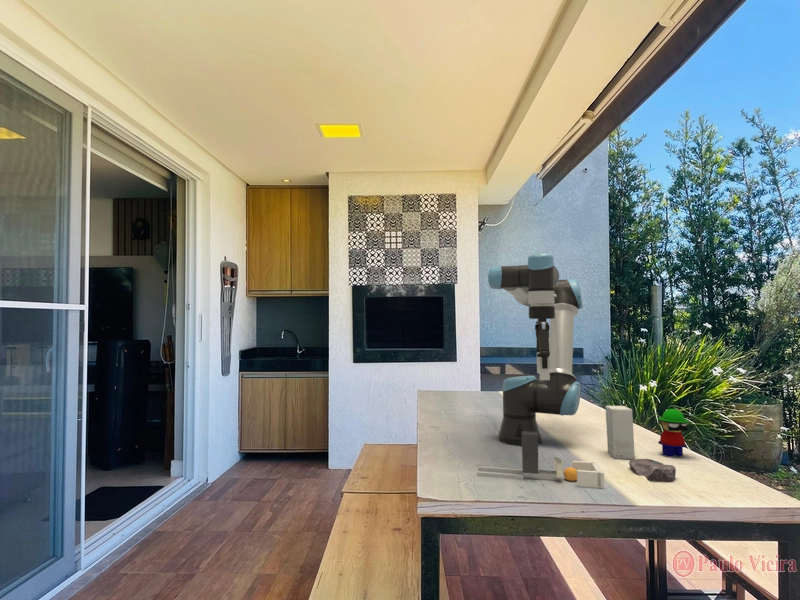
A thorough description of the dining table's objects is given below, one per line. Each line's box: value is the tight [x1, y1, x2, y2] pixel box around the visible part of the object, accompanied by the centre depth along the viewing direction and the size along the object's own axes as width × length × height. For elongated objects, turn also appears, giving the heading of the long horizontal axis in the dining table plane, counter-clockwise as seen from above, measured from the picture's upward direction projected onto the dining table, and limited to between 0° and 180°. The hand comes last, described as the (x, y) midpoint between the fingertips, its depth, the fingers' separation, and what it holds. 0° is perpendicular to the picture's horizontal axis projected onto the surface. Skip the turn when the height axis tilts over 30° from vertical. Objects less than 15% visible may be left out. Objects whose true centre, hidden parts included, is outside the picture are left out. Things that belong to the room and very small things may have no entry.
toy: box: [657, 408, 691, 458], centre depth 147 cm, size 9×9×15 cm
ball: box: [563, 466, 577, 482], centre depth 120 cm, size 4×4×4 cm
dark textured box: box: [521, 431, 564, 482], centre depth 122 cm, size 10×6×12 cm, turn 77°
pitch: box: [476, 466, 524, 480], centre depth 122 cm, size 34×14×2 cm, turn 77°
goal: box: [571, 460, 605, 489], centre depth 119 cm, size 6×10×4 cm, turn 166°
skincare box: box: [605, 405, 636, 460], centre depth 147 cm, size 8×7×16 cm
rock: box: [628, 458, 677, 482], centre depth 126 cm, size 8×11×5 cm
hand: (543, 376), depth 136 cm, fingers open, 13 cm apart
